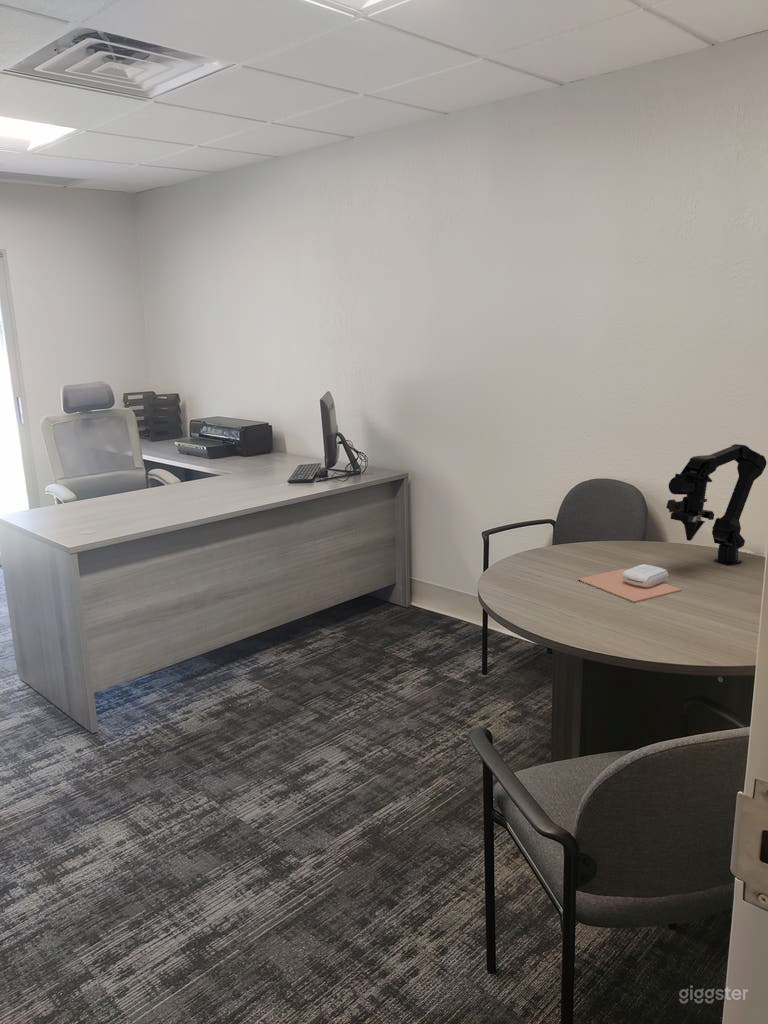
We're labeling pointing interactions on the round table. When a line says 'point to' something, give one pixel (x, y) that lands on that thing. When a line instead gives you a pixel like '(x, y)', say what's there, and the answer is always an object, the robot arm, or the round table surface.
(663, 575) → the photo printer
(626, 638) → the round table surface
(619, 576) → the mat
